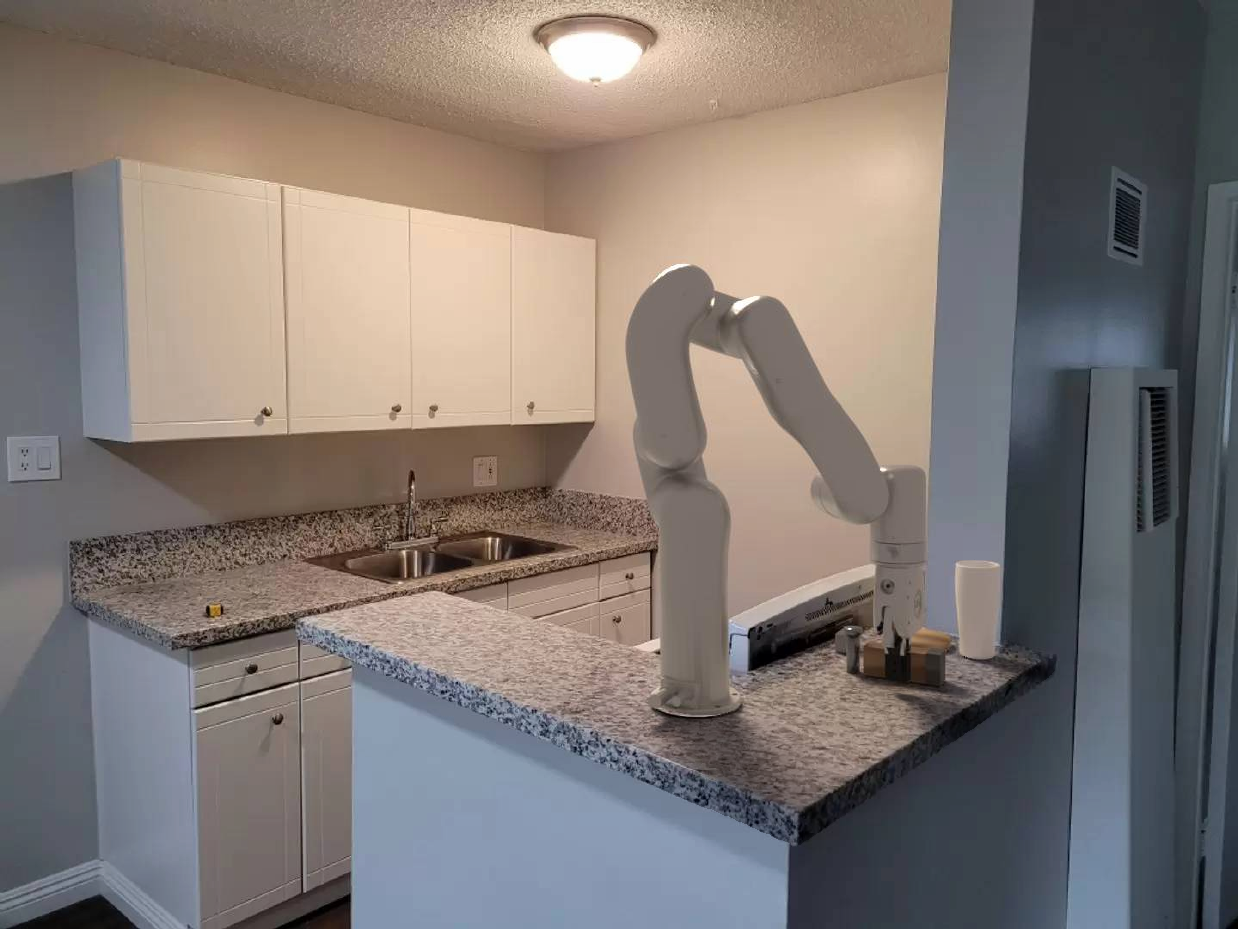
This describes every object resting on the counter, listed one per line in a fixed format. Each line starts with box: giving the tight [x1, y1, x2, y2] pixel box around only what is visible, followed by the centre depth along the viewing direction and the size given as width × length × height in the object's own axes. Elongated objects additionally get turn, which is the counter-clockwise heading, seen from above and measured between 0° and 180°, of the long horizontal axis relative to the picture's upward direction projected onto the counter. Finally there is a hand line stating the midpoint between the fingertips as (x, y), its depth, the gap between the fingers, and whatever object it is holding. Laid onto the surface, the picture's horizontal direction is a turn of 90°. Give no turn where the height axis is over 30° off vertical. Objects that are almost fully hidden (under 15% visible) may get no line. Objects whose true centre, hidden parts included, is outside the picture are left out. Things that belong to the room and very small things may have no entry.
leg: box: [862, 641, 946, 687], centre depth 133 cm, size 3×11×5 cm, turn 59°
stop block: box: [834, 628, 846, 654], centre depth 149 cm, size 4×2×3 cm, turn 149°
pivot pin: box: [843, 625, 864, 674], centre depth 137 cm, size 3×3×7 cm
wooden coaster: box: [881, 628, 952, 650], centre depth 151 cm, size 11×11×2 cm
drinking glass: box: [954, 559, 1002, 661], centre depth 143 cm, size 7×7×15 cm
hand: (897, 680), depth 127 cm, fingers closed
